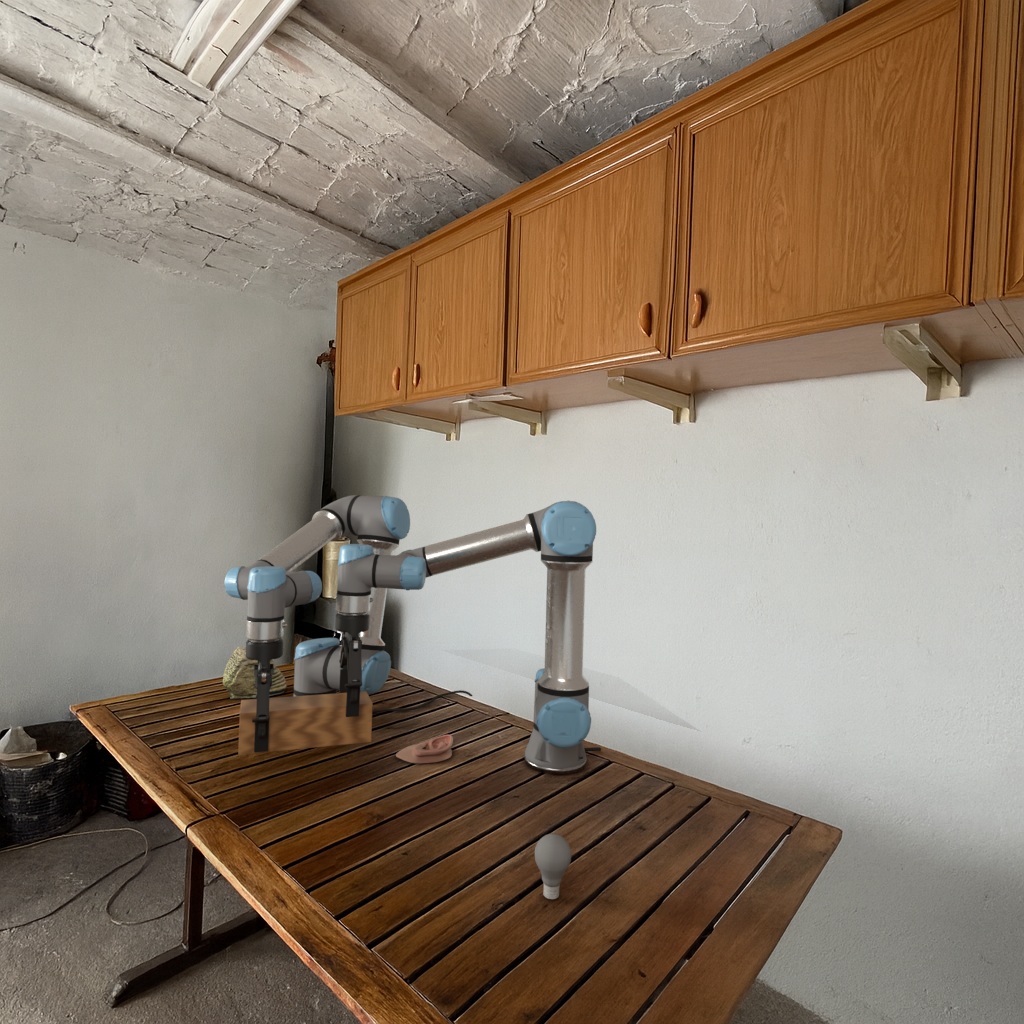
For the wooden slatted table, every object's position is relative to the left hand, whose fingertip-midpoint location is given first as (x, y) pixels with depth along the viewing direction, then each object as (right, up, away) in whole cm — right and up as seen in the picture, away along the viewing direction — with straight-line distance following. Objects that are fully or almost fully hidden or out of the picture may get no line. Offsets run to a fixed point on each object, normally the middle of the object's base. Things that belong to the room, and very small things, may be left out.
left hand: (261, 742), depth 137 cm
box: (+9, -1, +3) cm, 9 cm away
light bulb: (+61, -13, -34) cm, 71 cm away
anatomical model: (+32, -11, +21) cm, 40 cm away
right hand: (+17, +6, +7) cm, 19 cm away
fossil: (-26, -7, +61) cm, 67 cm away
